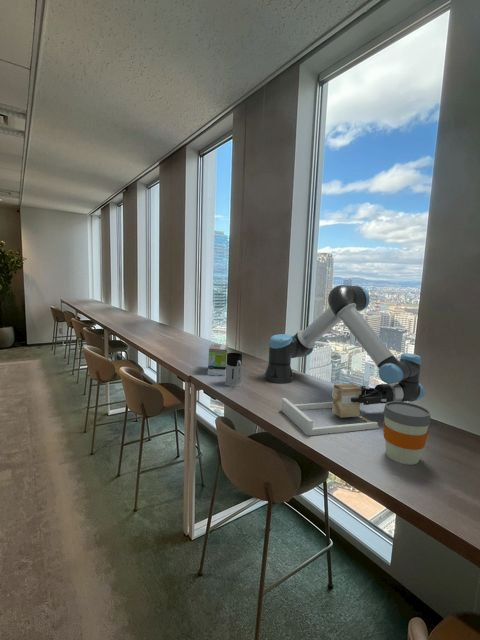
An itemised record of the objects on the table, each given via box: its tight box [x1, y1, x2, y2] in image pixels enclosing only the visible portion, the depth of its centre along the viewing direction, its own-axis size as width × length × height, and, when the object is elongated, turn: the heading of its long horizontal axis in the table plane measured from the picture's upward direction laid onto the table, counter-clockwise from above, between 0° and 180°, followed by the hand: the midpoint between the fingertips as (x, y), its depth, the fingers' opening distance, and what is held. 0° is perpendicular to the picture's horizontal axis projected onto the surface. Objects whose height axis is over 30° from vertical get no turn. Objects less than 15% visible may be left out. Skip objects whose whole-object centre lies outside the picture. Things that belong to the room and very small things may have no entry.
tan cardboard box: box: [331, 382, 362, 419], centre depth 125 cm, size 6×8×11 cm
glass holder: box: [224, 352, 243, 388], centre depth 157 cm, size 9×14×15 cm, turn 18°
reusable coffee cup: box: [382, 401, 431, 466], centre depth 97 cm, size 13×13×15 cm
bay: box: [280, 397, 381, 437], centre depth 123 cm, size 22×29×5 cm
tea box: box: [207, 343, 229, 377], centre depth 180 cm, size 15×10×15 cm
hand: (337, 396), depth 123 cm, fingers closed on tan cardboard box, 6 cm apart
